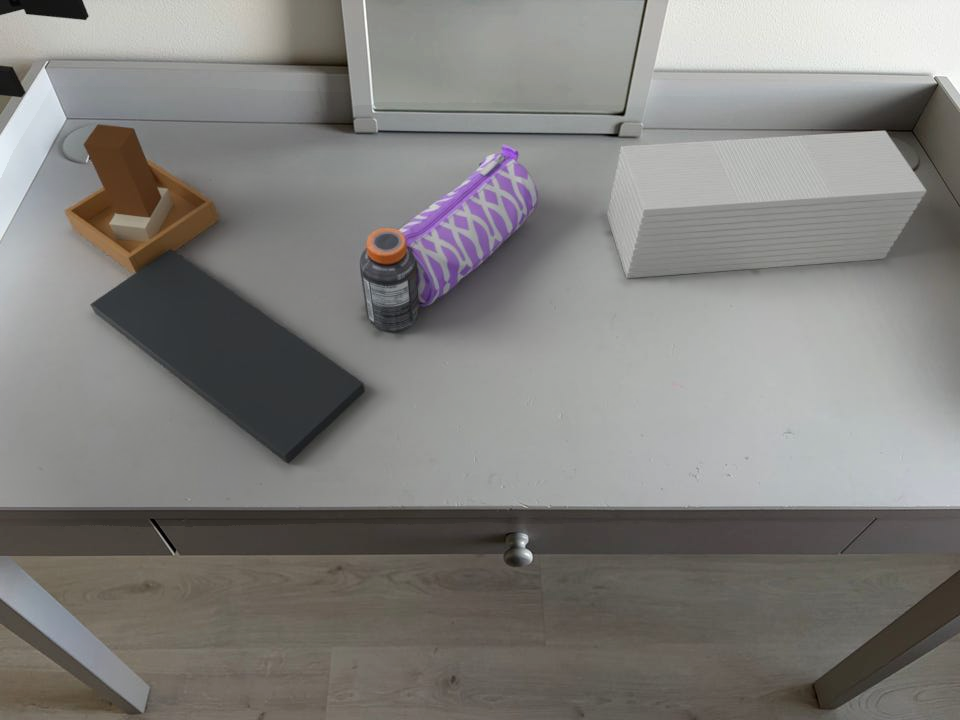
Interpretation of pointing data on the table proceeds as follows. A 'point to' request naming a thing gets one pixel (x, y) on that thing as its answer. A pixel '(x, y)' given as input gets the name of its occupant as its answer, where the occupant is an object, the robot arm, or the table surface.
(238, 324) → the slate board
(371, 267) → the pill bottle
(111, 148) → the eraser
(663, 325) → the table surface
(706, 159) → the stack of papers
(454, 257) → the pencil case
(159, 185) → the tray
